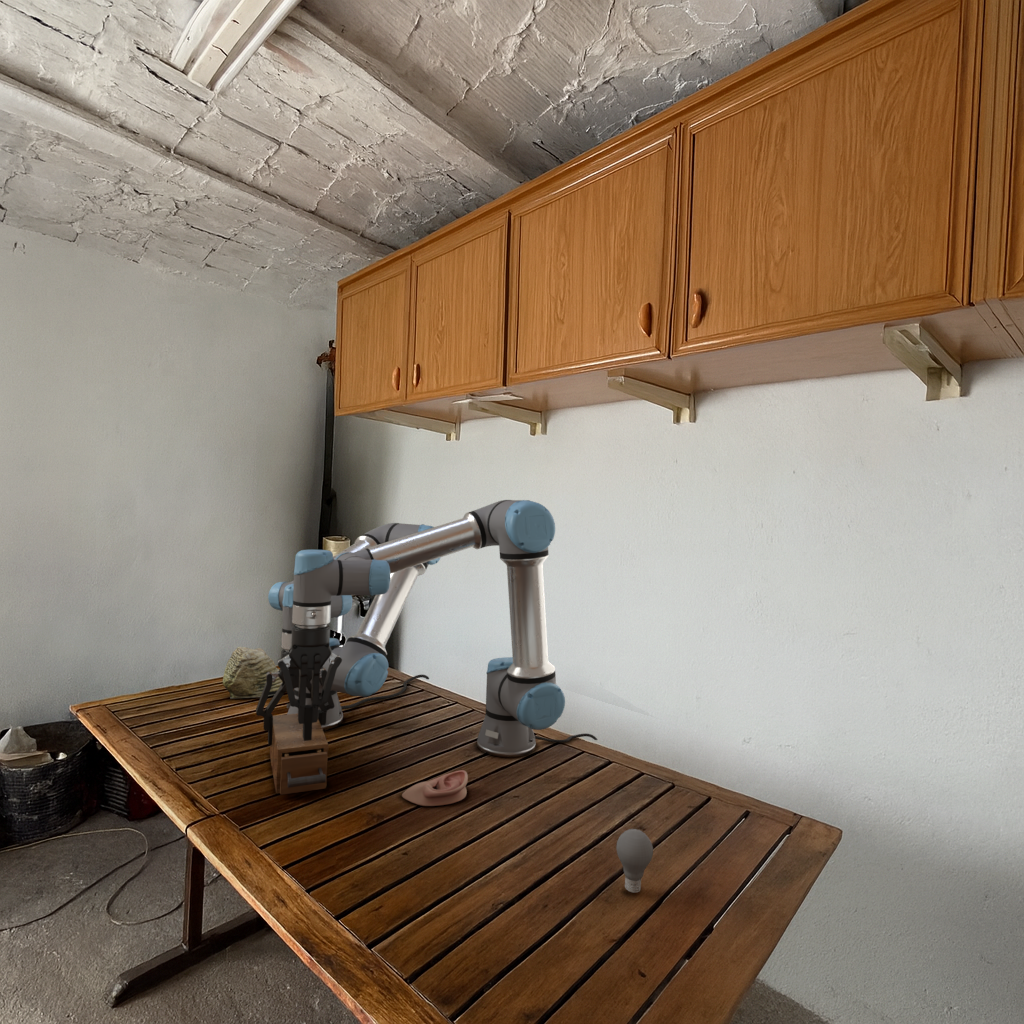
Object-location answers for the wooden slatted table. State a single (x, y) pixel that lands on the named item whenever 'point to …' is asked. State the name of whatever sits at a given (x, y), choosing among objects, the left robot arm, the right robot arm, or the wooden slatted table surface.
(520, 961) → the wooden slatted table surface
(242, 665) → the fossil
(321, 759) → the drawer
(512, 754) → the right robot arm
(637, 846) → the light bulb
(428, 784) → the anatomical model
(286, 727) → the cabinet
